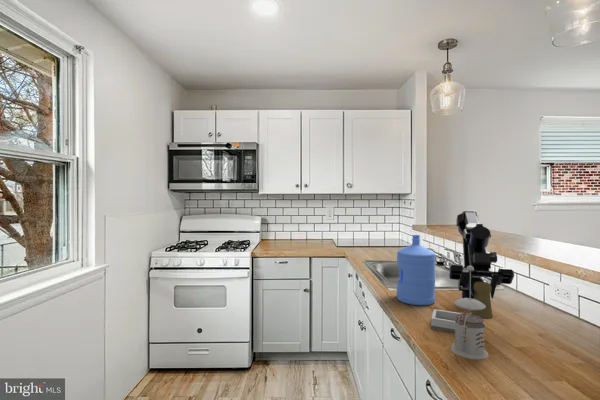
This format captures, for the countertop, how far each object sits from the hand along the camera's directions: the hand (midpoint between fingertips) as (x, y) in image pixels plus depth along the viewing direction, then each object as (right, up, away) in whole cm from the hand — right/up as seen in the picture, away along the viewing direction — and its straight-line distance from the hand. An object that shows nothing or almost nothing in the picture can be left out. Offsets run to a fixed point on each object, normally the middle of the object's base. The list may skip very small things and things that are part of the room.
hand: (482, 297), depth 105 cm
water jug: (-9, -12, +36) cm, 39 cm away
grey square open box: (-7, -13, +8) cm, 17 cm away
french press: (-10, -13, -10) cm, 19 cm away
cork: (0, -7, +1) cm, 7 cm away
